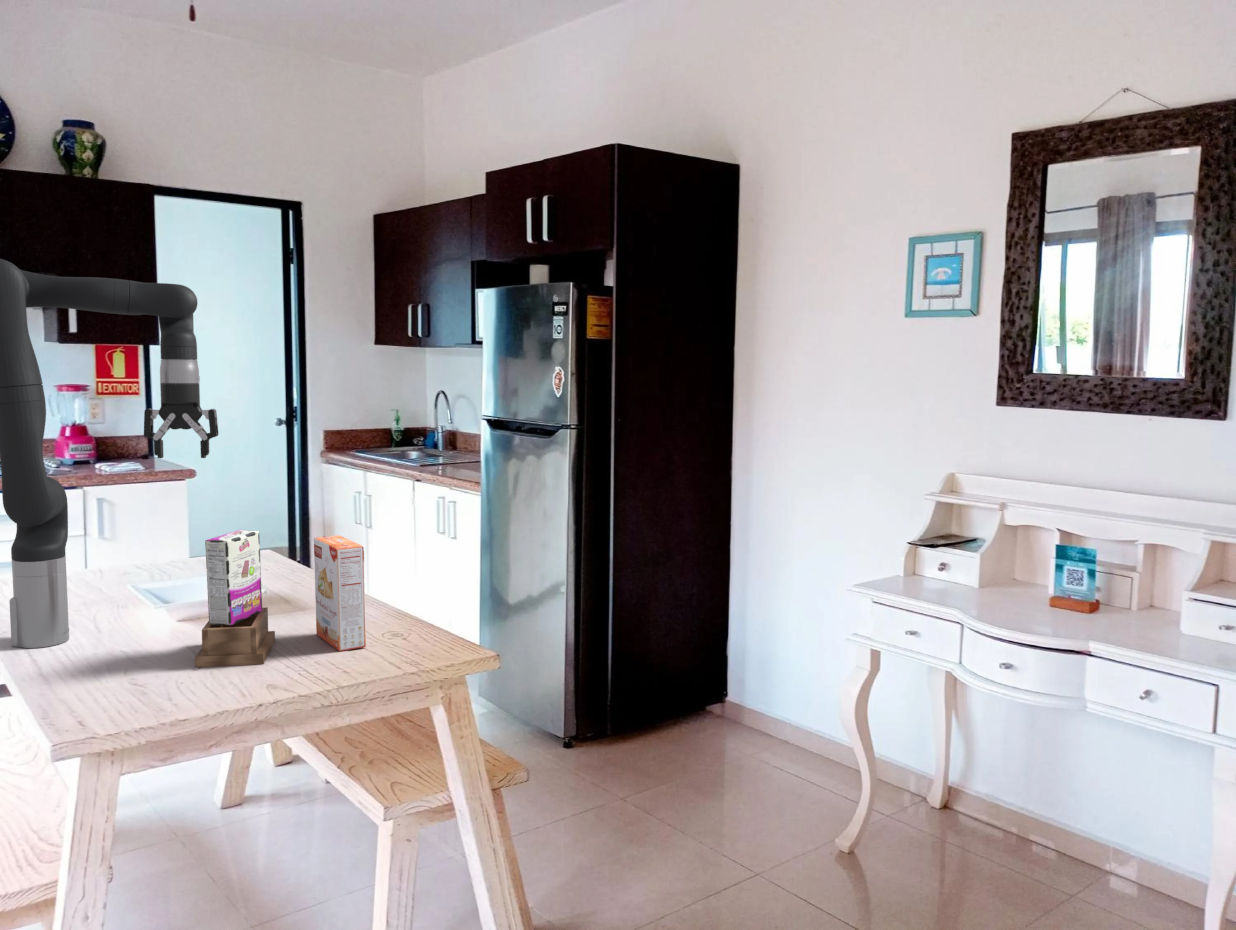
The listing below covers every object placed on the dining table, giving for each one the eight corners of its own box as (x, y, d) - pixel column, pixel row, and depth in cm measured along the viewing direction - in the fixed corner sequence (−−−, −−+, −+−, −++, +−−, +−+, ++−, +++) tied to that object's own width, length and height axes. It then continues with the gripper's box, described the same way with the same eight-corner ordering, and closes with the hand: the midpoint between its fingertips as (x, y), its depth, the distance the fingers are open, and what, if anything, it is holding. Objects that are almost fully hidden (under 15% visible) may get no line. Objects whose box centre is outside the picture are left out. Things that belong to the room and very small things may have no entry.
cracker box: (314, 636, 201) (312, 536, 199) (342, 631, 205) (341, 534, 203) (337, 652, 190) (335, 547, 188) (366, 647, 193) (365, 544, 191)
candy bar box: (240, 610, 194) (238, 529, 192) (263, 611, 193) (261, 530, 191) (206, 624, 183) (203, 538, 181) (230, 626, 182) (228, 540, 180)
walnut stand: (195, 667, 179) (194, 630, 179) (212, 643, 195) (211, 609, 194) (263, 663, 182) (262, 627, 181) (275, 640, 197) (274, 606, 197)
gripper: (138, 381, 198) (141, 459, 200) (212, 381, 201) (214, 459, 203) (148, 380, 206) (150, 456, 207) (219, 381, 209) (221, 456, 210)
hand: (182, 457), depth 205 cm, fingers open, 8 cm apart
